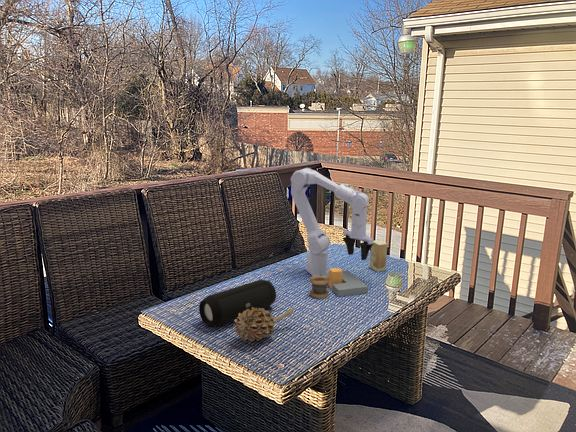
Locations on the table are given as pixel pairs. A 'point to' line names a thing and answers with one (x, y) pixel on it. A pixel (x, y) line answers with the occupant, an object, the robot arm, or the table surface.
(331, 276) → the orange rectangular block
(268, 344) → the table surface
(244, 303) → the portable speaker
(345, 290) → the notched board
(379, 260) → the skincare box
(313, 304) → the table surface
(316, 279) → the bobbin post
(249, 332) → the brown knobbly handled piece
